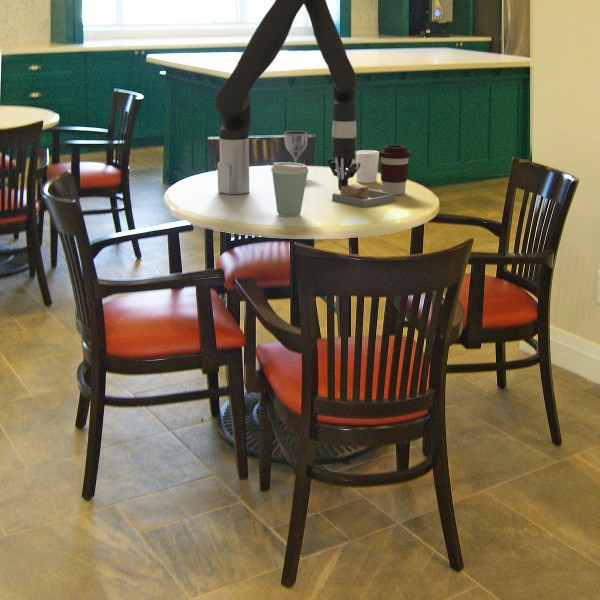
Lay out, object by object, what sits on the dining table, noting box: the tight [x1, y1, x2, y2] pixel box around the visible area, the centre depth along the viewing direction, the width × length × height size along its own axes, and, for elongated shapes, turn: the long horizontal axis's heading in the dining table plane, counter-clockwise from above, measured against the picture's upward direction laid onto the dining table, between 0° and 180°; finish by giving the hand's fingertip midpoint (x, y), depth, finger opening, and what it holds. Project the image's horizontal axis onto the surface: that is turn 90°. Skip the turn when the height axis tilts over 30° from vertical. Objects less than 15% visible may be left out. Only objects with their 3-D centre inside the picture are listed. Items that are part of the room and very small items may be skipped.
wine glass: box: [284, 130, 308, 163], centre depth 310 cm, size 8×8×15 cm
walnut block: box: [340, 183, 369, 200], centre depth 276 cm, size 6×6×4 cm
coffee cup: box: [378, 144, 412, 196], centre depth 281 cm, size 10×10×15 cm
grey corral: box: [331, 188, 397, 208], centre depth 273 cm, size 14×14×2 cm
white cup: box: [355, 149, 380, 184], centre depth 301 cm, size 8×8×10 cm
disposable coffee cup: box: [270, 161, 309, 218], centre depth 252 cm, size 11×11×15 cm
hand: (343, 190), depth 279 cm, fingers closed
